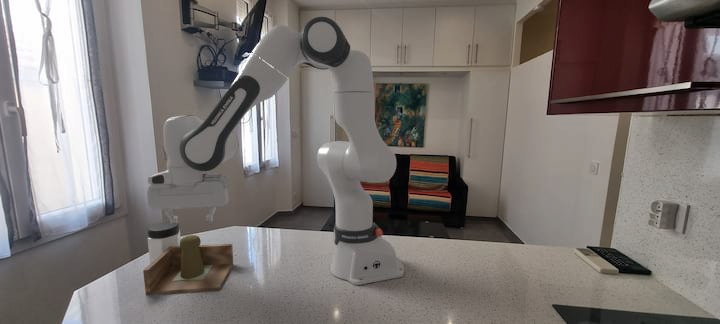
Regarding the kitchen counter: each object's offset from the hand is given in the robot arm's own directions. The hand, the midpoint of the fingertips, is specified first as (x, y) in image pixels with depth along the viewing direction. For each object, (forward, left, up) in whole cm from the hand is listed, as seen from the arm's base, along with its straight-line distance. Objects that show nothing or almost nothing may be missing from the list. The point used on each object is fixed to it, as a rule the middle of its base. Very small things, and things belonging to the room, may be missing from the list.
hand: (192, 222), depth 85 cm
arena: (0, +2, -16) cm, 16 cm away
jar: (+12, -9, -16) cm, 22 cm away
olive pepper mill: (+1, +1, -15) cm, 15 cm away
